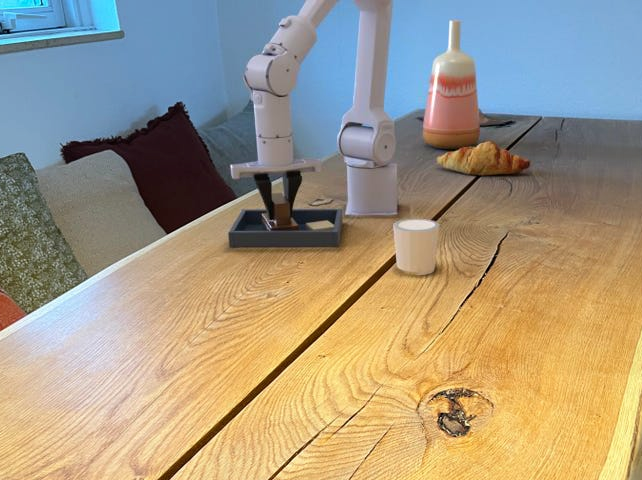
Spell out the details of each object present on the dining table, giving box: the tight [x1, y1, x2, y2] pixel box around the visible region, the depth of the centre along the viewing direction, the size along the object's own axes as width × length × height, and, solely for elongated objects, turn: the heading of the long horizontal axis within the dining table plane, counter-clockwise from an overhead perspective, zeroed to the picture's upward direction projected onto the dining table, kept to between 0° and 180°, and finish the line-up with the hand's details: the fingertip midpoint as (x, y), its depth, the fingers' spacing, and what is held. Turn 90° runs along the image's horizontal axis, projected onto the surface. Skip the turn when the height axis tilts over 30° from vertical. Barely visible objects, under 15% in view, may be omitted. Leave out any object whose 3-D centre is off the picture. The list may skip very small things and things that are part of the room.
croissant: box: [436, 140, 531, 176], centre depth 176 cm, size 21×10×8 cm, turn 72°
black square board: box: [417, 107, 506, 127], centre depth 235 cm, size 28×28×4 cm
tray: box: [227, 208, 344, 249], centre depth 134 cm, size 18×14×3 cm
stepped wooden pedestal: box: [262, 192, 299, 231], centre depth 133 cm, size 4×9×6 cm, turn 18°
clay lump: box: [306, 220, 334, 231], centre depth 135 cm, size 4×4×1 cm
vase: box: [422, 19, 481, 150], centre depth 196 cm, size 14×14×30 cm
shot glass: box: [392, 218, 440, 277], centre depth 119 cm, size 7×7×7 cm
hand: (279, 217), depth 133 cm, fingers closed on stepped wooden pedestal, 2 cm apart
